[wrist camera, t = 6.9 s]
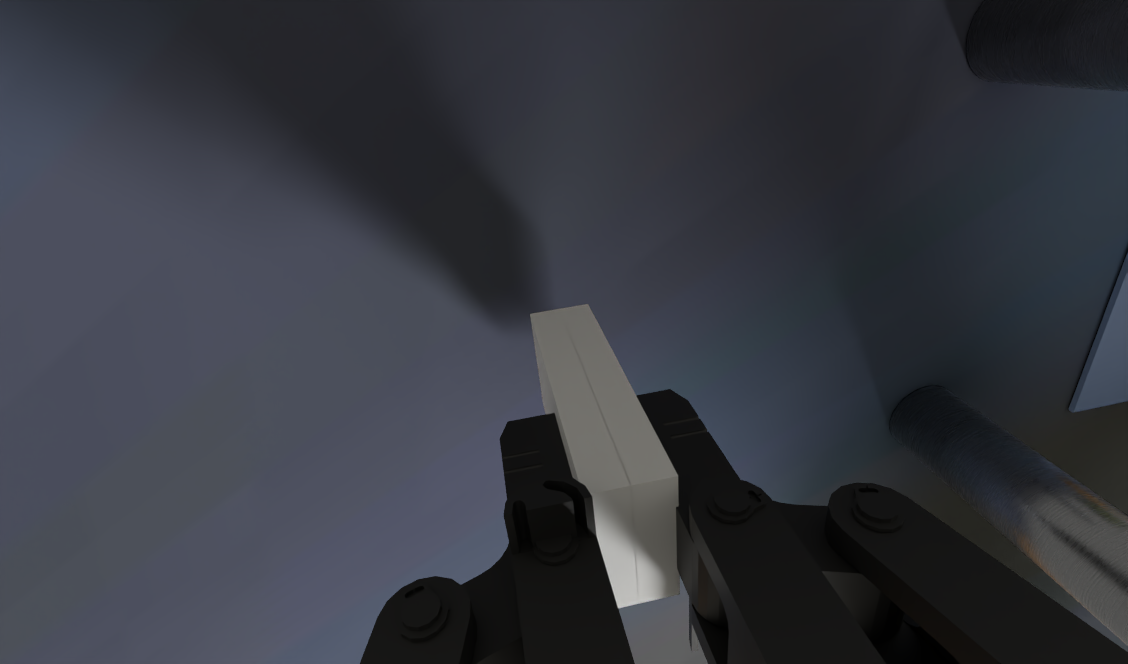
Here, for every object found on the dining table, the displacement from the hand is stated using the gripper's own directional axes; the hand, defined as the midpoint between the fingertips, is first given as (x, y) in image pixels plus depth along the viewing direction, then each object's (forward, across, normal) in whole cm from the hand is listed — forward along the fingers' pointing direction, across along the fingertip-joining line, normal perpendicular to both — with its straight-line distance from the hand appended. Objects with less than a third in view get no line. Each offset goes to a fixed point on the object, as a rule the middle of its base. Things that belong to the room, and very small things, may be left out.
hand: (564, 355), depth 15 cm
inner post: (+2, -13, +6) cm, 15 cm away
